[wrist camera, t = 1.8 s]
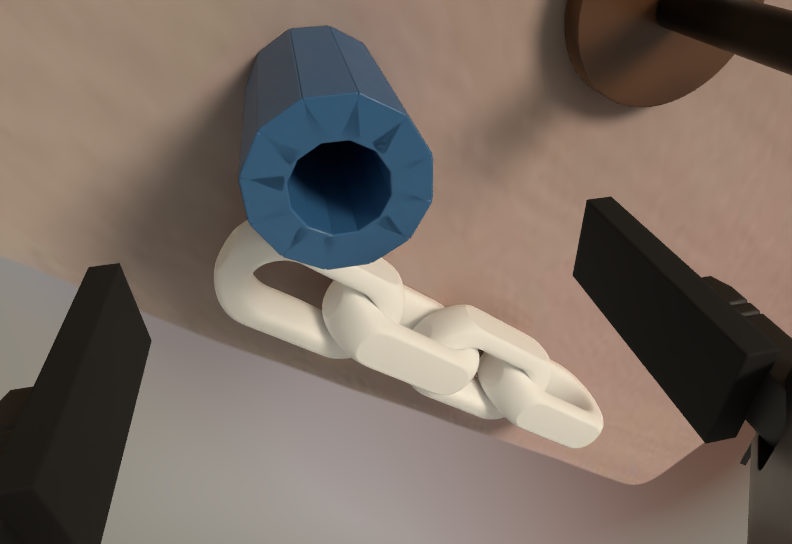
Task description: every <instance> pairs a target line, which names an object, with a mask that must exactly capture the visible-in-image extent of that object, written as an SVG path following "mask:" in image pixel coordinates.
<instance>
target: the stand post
mask: <svg viewBox="0 0 792 544" xmlns="http://www.w3.org/2000/svg"><path fill="white" fill-rule="evenodd" d="M656 18H657V21H658V23H659V24H660V26H662V27H663V28H666V29H668V30H671V31H674V32H676V33H679V34H682V35H684V36H687V37H690V38H693V39H695V40H698V41H701V42H703V43H706V44H709V45H711V46H714V47H717V48H720V49H722V50H725V51H728V52H730V53H733V54H736V55H738V56H741V57H744V58H746V59H749V60H752V61H755V62H757V63H760V64H763V65H765V66H768V67H771V68H773V69H776V70H779V71H781V72H784V73H787V74H790V75H792V11H791V10H787V9H783V8H779V7H775V6H771V5H767V4H763V3H759V2H755V1H751V0H660V1H659V3H658V6H657V10H656Z"/></svg>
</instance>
